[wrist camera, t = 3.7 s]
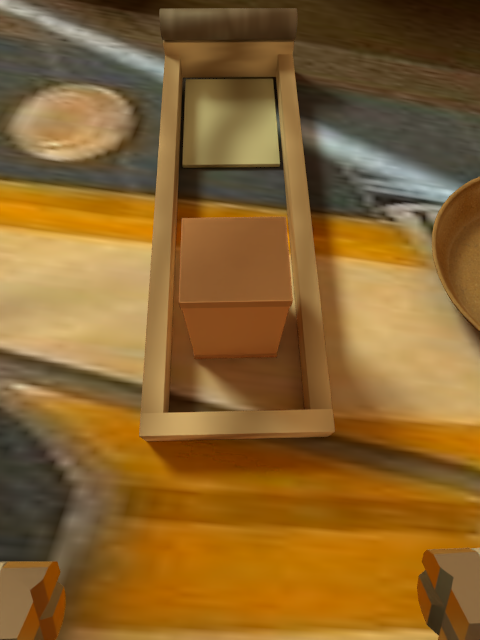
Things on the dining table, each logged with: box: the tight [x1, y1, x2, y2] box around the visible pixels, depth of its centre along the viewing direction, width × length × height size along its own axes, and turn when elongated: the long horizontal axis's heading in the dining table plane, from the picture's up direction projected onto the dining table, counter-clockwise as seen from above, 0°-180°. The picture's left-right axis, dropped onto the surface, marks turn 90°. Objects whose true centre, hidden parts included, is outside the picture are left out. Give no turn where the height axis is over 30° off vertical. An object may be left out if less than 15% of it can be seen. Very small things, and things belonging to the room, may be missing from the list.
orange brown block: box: [179, 217, 293, 359], centre depth 23 cm, size 5×5×8 cm
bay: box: [139, 8, 335, 441], centre depth 28 cm, size 10×32×5 cm, turn 1°
